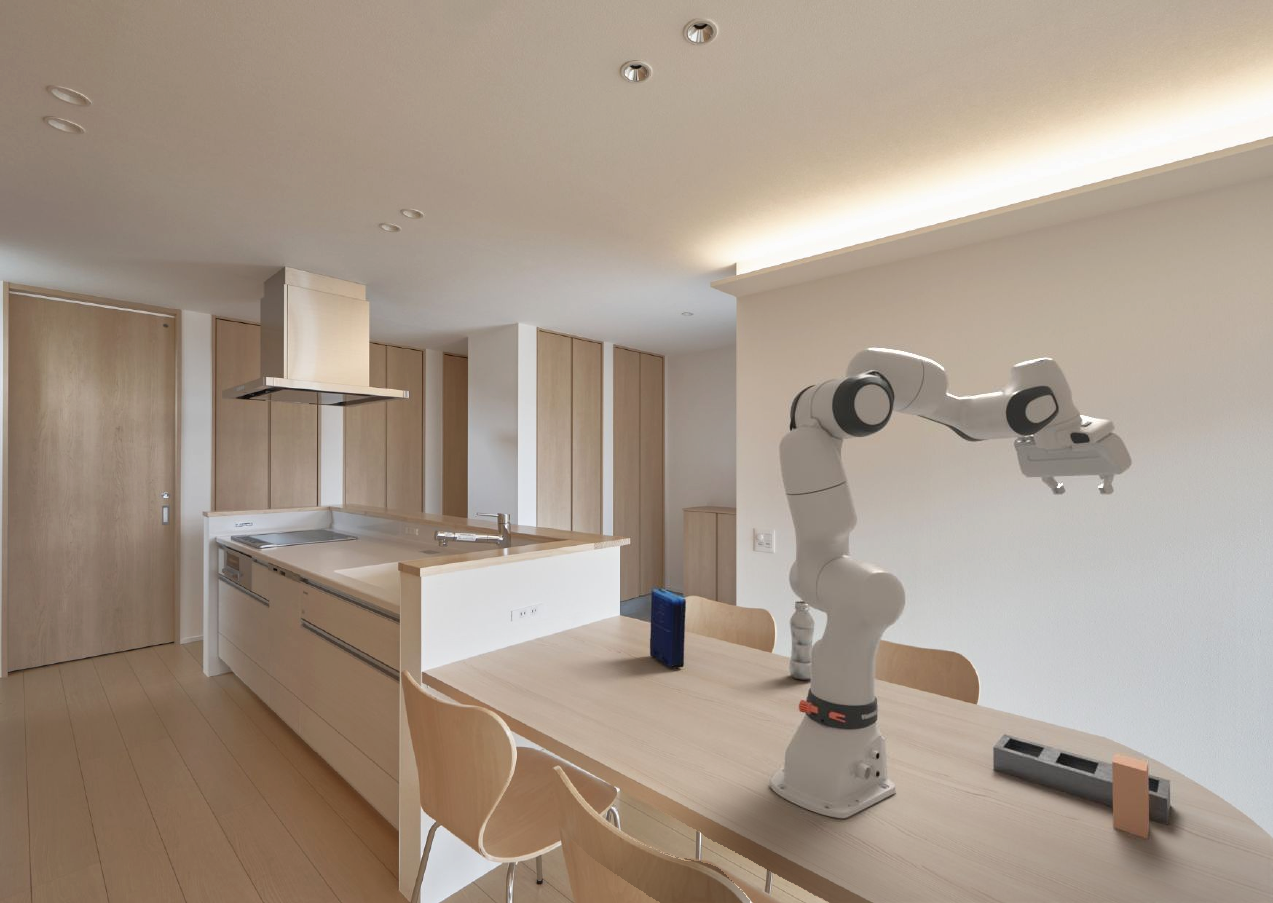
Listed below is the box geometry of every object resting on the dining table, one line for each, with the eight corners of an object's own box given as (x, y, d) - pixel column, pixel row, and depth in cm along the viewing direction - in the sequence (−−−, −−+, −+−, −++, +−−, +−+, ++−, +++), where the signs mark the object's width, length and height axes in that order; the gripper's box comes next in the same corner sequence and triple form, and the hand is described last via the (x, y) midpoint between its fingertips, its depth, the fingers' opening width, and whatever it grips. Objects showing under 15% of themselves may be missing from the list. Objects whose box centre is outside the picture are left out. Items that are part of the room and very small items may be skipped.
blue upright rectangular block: (646, 656, 173) (647, 588, 173) (662, 654, 175) (663, 586, 176) (669, 672, 160) (670, 597, 160) (686, 669, 162) (687, 596, 163)
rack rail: (1167, 824, 92) (1167, 798, 92) (993, 769, 109) (993, 747, 109) (1170, 804, 98) (1169, 780, 98) (1004, 754, 115) (1004, 734, 115)
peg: (1147, 838, 89) (1146, 771, 89) (1113, 827, 92) (1112, 761, 92) (1149, 827, 92) (1148, 762, 92) (1116, 816, 94) (1115, 753, 95)
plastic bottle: (809, 674, 160) (809, 599, 160) (818, 682, 153) (818, 605, 154) (786, 673, 160) (786, 599, 160) (793, 682, 153) (793, 605, 154)
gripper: (1002, 443, 129) (1025, 499, 130) (1102, 433, 110) (1128, 500, 111) (1020, 431, 131) (1043, 487, 132) (1122, 420, 112) (1147, 485, 113)
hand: (1082, 493), depth 121 cm, fingers open, 8 cm apart
